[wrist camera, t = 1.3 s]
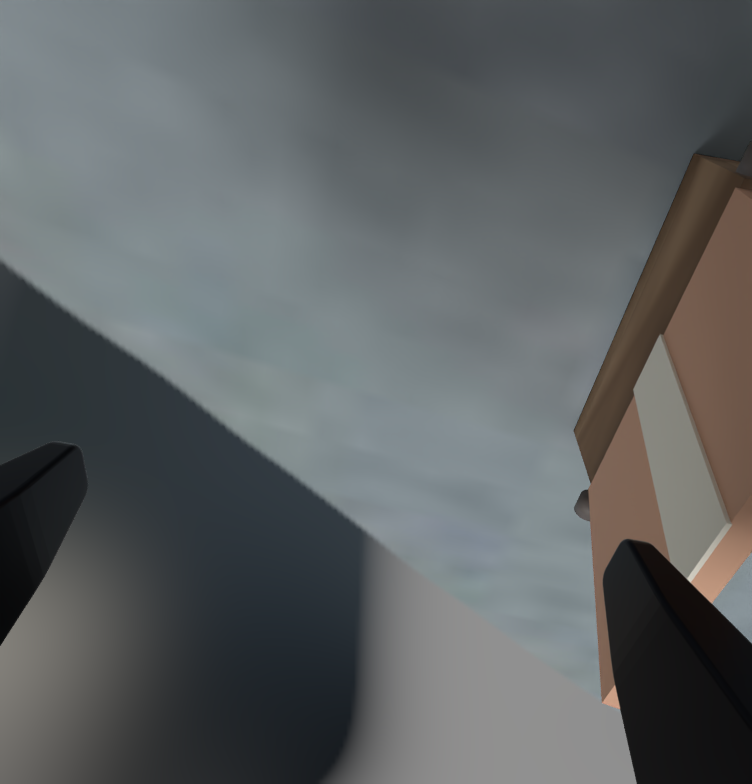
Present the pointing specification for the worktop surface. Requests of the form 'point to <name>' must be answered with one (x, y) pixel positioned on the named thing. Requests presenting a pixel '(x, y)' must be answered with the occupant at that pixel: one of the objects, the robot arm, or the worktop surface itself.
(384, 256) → the worktop surface
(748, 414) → the lid
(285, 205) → the worktop surface
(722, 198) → the walnut box
